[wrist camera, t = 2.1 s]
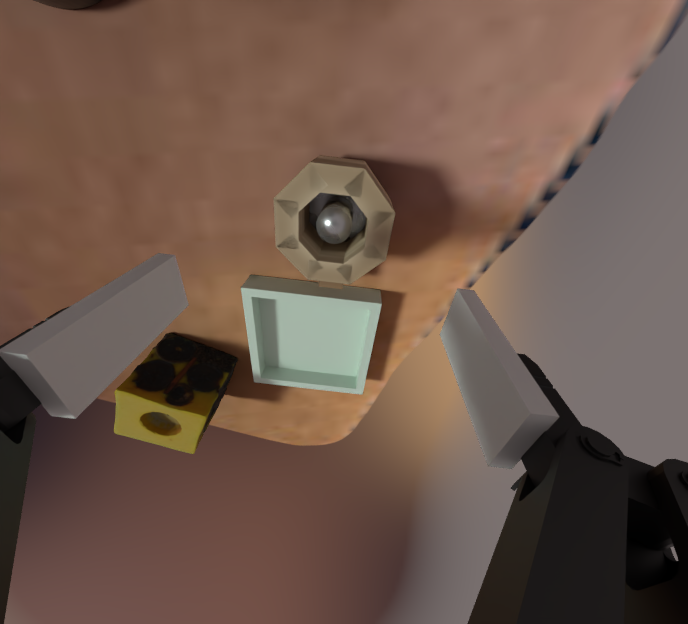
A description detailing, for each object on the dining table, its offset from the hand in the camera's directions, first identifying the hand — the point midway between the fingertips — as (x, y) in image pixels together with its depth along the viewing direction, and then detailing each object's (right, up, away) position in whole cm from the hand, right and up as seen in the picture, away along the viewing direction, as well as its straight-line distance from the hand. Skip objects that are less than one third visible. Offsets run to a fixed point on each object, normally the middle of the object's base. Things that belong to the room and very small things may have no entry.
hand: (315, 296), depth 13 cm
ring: (+1, +7, +12) cm, 14 cm away
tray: (-3, -3, +22) cm, 23 cm away
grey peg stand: (+1, +9, +13) cm, 16 cm away
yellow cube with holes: (-20, -9, +28) cm, 35 cm away
